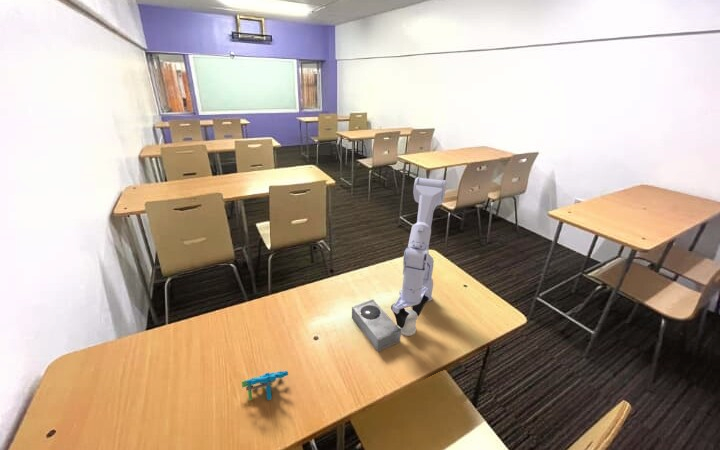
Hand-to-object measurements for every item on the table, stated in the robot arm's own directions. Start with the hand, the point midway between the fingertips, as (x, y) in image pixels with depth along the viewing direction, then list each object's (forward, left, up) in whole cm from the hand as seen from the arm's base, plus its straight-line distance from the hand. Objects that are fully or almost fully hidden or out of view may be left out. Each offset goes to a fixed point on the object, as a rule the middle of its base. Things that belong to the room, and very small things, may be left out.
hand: (408, 320), depth 94 cm
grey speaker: (+9, -5, -4) cm, 11 cm away
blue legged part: (+44, -1, -4) cm, 44 cm away
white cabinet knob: (0, 0, -4) cm, 4 cm away
